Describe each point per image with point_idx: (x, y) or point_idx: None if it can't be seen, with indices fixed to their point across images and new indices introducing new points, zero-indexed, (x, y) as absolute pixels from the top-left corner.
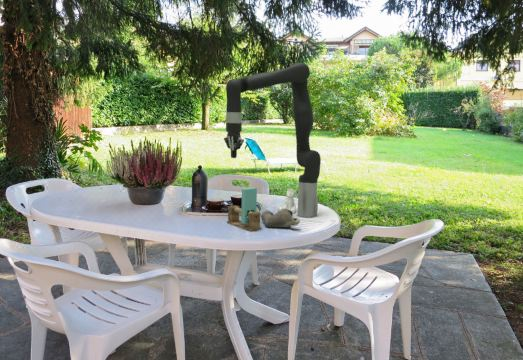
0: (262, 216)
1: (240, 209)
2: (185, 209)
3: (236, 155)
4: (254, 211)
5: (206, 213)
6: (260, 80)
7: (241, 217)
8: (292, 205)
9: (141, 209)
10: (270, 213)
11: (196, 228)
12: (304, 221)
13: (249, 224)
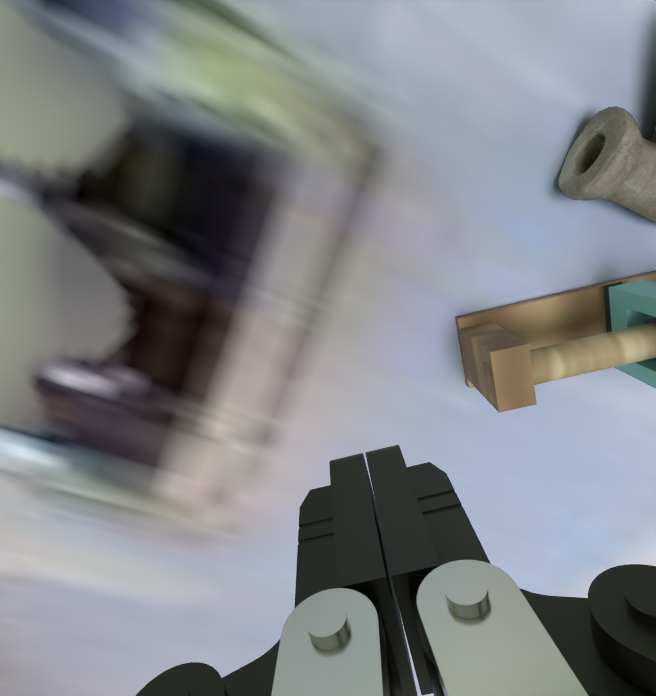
0: (598, 198)
1: (598, 367)
2: (97, 486)
3: (451, 485)
4: None
5: (226, 411)
6: None
7: (637, 377)
8: None
9: (44, 672)
10: (643, 144)
11: (490, 546)
12: None
13: None
